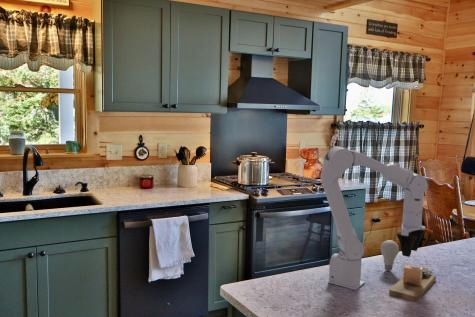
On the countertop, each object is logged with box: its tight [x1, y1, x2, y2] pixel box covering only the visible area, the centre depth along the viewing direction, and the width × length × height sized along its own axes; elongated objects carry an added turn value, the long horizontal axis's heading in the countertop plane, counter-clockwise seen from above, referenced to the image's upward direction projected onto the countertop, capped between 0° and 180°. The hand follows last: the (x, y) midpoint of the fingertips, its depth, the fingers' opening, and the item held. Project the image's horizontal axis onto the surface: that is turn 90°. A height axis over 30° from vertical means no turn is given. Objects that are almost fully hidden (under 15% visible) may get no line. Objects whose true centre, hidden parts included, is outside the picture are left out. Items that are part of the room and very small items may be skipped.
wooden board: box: [388, 273, 437, 303], centre depth 142 cm, size 8×22×2 cm, turn 143°
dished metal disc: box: [415, 265, 429, 274], centre depth 149 cm, size 4×4×2 cm
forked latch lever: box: [402, 265, 433, 286], centre depth 145 cm, size 5×16×5 cm, turn 143°
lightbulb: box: [379, 239, 400, 272], centre depth 155 cm, size 6×6×11 cm
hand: (409, 253), depth 143 cm, fingers open, 7 cm apart
